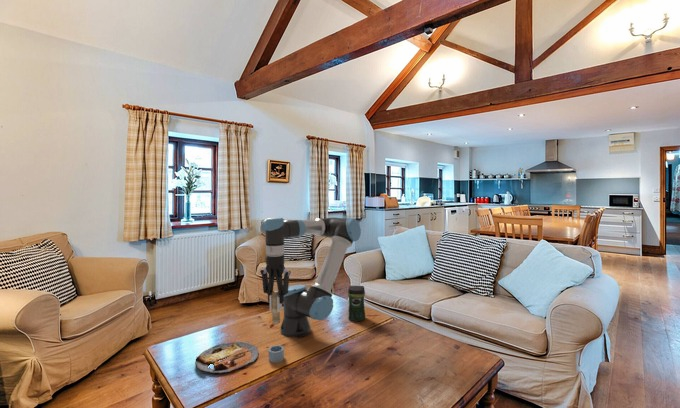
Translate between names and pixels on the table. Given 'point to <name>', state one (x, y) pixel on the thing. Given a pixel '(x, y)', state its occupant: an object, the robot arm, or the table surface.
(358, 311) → the coffee jar
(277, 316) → the pestle
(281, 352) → the cup
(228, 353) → the food plate
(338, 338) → the table surface
